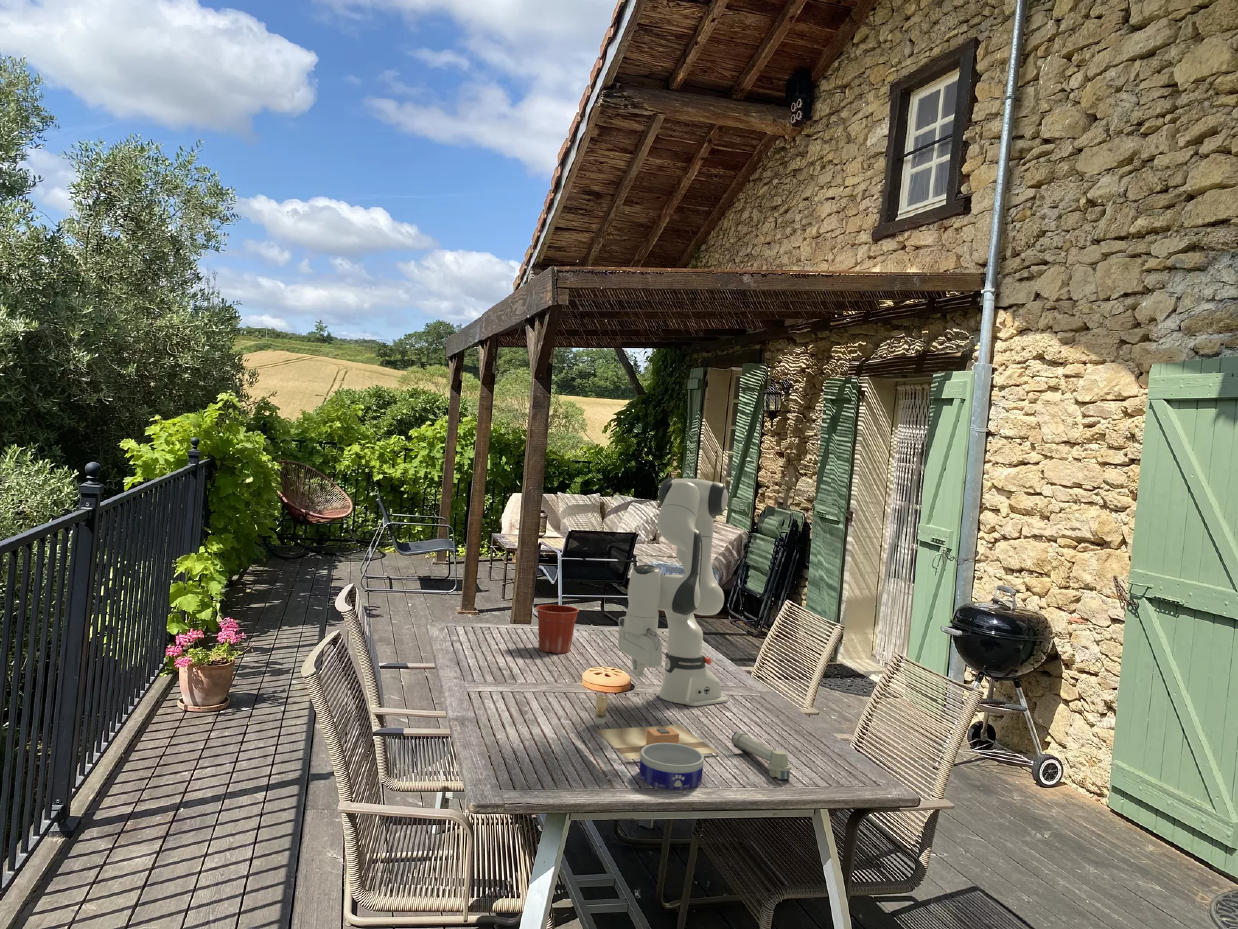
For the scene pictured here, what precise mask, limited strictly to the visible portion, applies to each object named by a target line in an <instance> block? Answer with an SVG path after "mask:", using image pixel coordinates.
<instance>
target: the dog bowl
mask: <svg viewBox="0 0 1238 929" xmlns="http://www.w3.org/2000/svg"><path fill="white" fill-rule="evenodd" d="M704 756H705V755H704V754H702V753H701V752H700V751H698V750H696V749H694V748H692V747H689V746H686V745H681V744H675V743H655V744H650V745H647V746H645V747H643V748H642V750H641V754H640V759H639V761H640V763H639V777H640V779H641V780H642V781H643V782H644V783H646V784H648V785H650V786H652V787H655V788H659V789H661V790H662V789H663V790H670V791H687V789H688V790H692V789H695V788H698V787H699V786H700V785H701V783H702V780H703V772H704V762H705V761H704V760H705V758H704ZM698 785H699V786H698ZM691 788H692V789H691Z"/></svg>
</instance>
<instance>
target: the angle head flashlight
mask: <svg viewBox="0 0 1238 929" xmlns="http://www.w3.org/2000/svg"><path fill="white" fill-rule="evenodd" d="M731 743H732V744H733V745H734V746H735V747H736V748H738V749H739V751H745V752H747V753H749V754H752V755H754V756H756V757H758V758H761V759H763V760H765V761H768V763H767V767H768V769H769V777H770V778H777V779H778V780H789V779H790V777H791V776H790V775H791V774H790V773H791V772H790V771H792V765H791V764H789V759H788V758H789V756H788V754H787V752H785V751H784V750H783V751H782V750H776V749H773V748H772V747H770V746H769V745H766V744H764V743H763V742H761V741H759V740H757V739H756V738H754V737H752V736H751V735H750V734H749V733H746V732H742V731H735V732H734V733H733V734H732V735H731Z"/></svg>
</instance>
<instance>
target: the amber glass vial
mask: <svg viewBox="0 0 1238 929" xmlns="http://www.w3.org/2000/svg"><path fill="white" fill-rule="evenodd" d="M595 699H596V700H595V710H594V711H595V713H594V726H596V727H601V728H602V727H605V726H606V720H607V708H608V707H607V706H608V696H606V695H601V694H600V695H596V698H595Z"/></svg>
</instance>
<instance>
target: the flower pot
mask: <svg viewBox="0 0 1238 929" xmlns="http://www.w3.org/2000/svg"><path fill="white" fill-rule="evenodd" d="M535 609H536V610H537V618H538V620H537V621H538V624H537V625H538V650H539V651H541V652H544V653H550V652H551V653H552V654H566V653H569V652H570V651H571V649H572V641H573V635H574V630H575V629H574V628H575V624H576V621H577V617H578V613H579V612H580V609H578V608H577V607H575V606H574V607H573V606H570V605H562V604H559V605H558V604H542V605H537V606H536V608H535Z"/></svg>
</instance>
